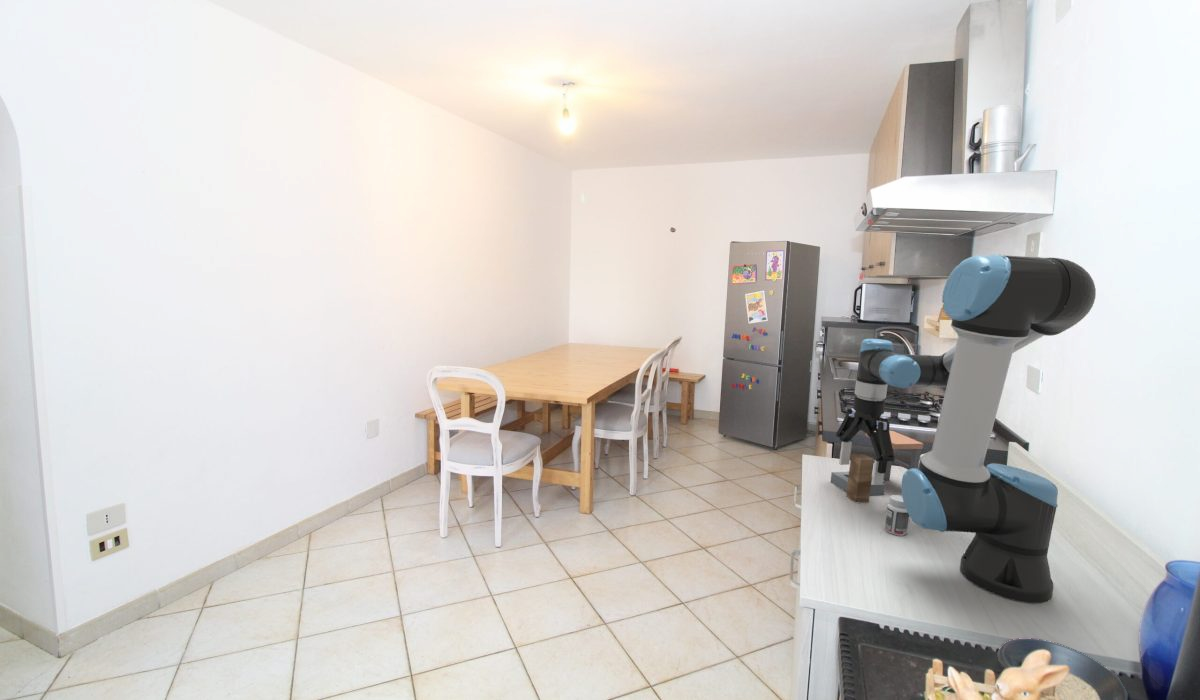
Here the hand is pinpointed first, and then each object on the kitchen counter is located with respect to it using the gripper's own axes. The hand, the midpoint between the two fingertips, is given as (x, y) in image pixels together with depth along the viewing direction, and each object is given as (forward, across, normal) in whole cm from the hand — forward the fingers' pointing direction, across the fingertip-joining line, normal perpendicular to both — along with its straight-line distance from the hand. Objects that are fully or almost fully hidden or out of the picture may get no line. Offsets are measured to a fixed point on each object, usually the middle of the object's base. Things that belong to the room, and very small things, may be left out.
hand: (859, 473), depth 148 cm
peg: (+7, 0, 0) cm, 7 cm away
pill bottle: (+7, -18, +3) cm, 20 cm away
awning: (+7, +7, -15) cm, 18 cm away
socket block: (+7, +7, -5) cm, 11 cm away
